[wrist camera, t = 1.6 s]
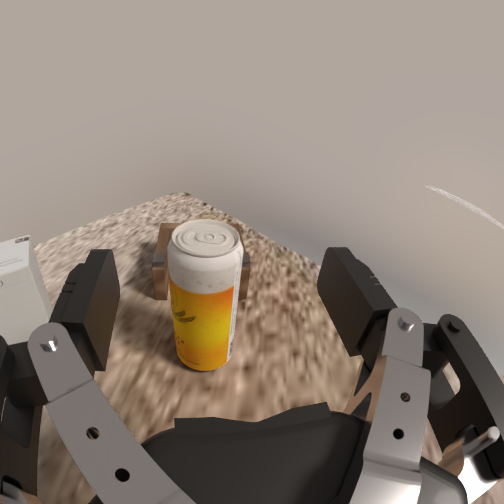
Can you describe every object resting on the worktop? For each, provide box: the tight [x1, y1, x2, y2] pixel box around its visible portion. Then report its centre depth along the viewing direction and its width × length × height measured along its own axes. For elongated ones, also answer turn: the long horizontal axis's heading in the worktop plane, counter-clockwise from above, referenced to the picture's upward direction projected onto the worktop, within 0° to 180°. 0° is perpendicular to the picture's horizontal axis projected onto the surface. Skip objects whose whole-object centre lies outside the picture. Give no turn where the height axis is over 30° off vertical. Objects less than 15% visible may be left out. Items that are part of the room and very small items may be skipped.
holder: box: [152, 223, 250, 300], centre depth 40 cm, size 12×12×6 cm
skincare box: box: [0, 235, 53, 345], centre depth 20 cm, size 8×6×15 cm
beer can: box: [167, 219, 244, 371], centre depth 26 cm, size 6×6×15 cm
